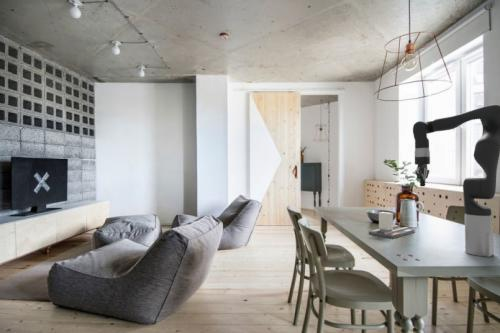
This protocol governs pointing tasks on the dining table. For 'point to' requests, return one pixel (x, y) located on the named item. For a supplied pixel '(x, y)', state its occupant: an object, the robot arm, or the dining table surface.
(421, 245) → the dining table surface
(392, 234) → the grey tray
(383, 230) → the white upright block
